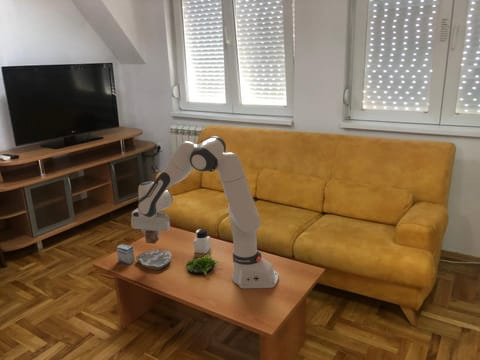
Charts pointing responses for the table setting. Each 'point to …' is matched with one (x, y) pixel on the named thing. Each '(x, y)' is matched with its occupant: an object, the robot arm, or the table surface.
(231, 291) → the table surface
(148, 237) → the walnut block
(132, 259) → the medicine box
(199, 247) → the medicine bottle
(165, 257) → the brain slice
